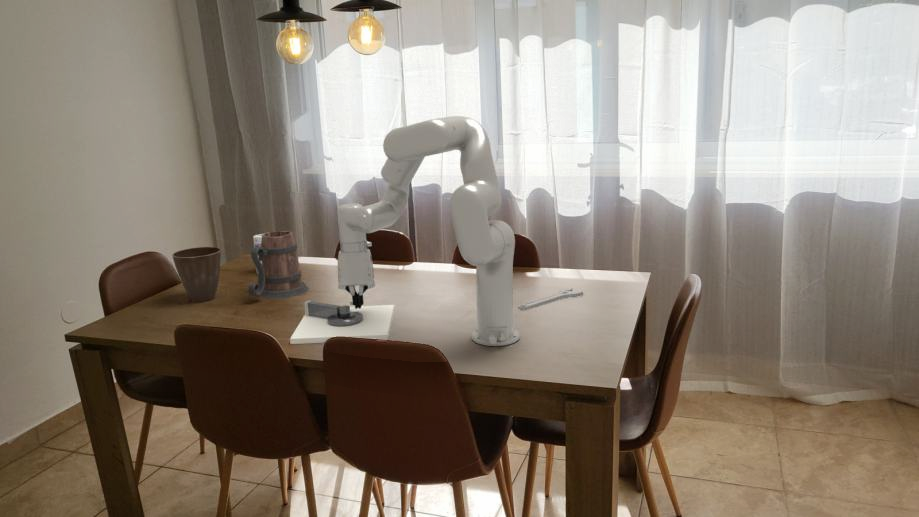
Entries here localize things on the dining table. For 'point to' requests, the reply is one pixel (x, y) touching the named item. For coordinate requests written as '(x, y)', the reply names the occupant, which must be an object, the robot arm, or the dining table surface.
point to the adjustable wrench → (551, 298)
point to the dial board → (370, 327)
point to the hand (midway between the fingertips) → (358, 307)
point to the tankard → (277, 267)
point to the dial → (333, 313)
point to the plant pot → (199, 271)
